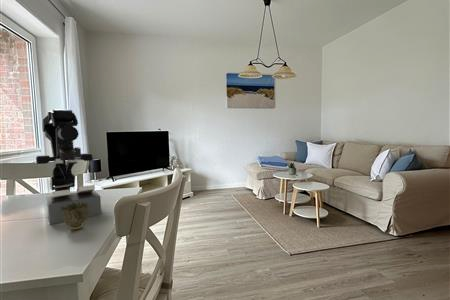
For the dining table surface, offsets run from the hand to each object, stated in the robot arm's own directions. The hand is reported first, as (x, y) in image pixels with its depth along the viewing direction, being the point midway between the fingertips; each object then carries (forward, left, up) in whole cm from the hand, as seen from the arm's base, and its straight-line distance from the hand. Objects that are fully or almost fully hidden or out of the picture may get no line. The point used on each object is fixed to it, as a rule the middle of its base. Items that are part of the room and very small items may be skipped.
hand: (66, 179), depth 100 cm
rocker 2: (+12, +5, -4) cm, 13 cm away
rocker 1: (+12, -3, -4) cm, 13 cm away
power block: (+10, +1, -12) cm, 16 cm away
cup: (+27, -1, -12) cm, 30 cm away
